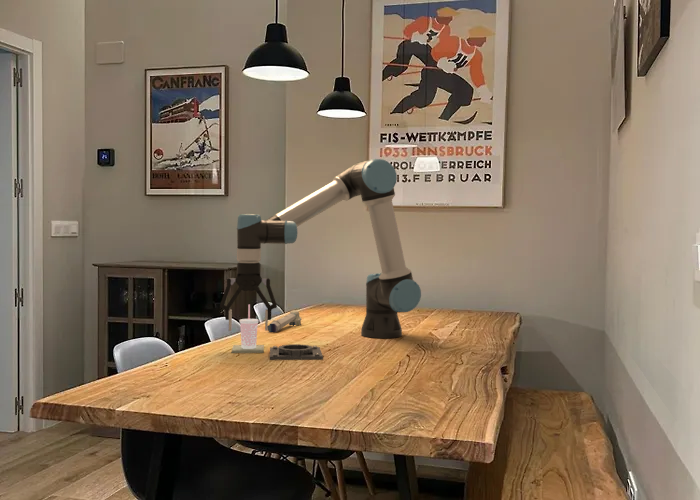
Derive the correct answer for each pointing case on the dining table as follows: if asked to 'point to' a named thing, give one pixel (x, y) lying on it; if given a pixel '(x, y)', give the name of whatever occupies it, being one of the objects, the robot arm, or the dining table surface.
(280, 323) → the tan tube
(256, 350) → the pad
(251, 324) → the beverage cup
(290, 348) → the flange
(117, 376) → the dining table surface
